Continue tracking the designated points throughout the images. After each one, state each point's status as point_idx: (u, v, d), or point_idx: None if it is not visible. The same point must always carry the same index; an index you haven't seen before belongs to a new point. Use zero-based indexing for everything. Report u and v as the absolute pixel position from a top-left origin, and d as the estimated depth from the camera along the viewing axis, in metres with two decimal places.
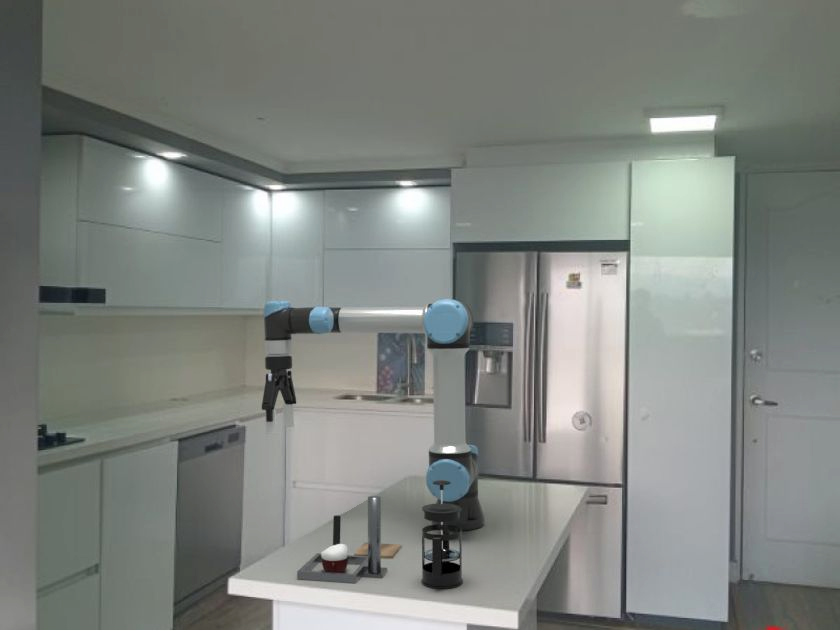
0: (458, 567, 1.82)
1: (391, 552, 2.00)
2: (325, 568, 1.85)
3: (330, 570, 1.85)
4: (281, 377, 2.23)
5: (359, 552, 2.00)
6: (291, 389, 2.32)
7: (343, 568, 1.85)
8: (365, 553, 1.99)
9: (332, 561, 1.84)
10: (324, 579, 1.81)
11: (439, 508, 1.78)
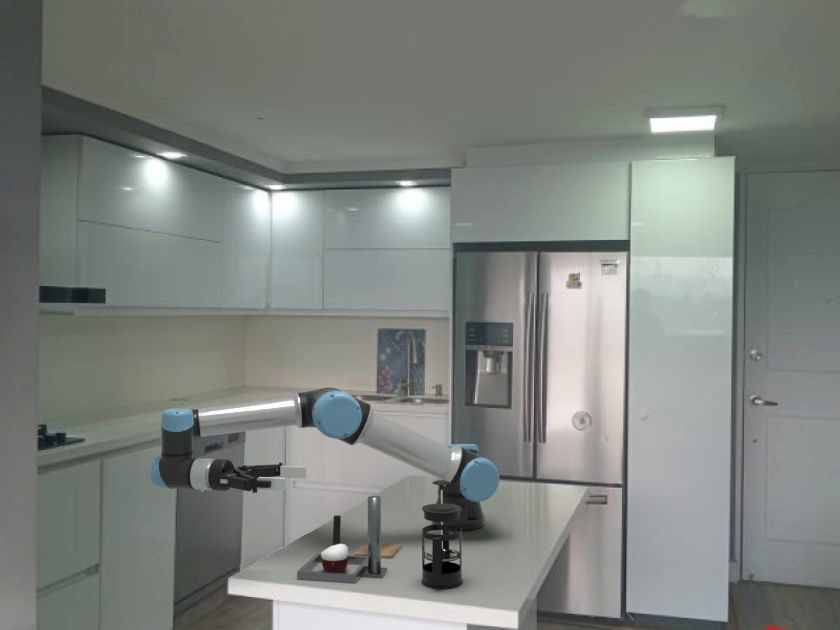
0: (458, 567, 1.82)
1: (391, 552, 2.00)
2: (325, 568, 1.85)
3: (330, 570, 1.85)
4: (233, 471, 1.91)
5: (359, 552, 2.00)
6: (265, 466, 1.99)
7: (343, 568, 1.85)
8: (365, 553, 1.99)
9: (332, 561, 1.84)
10: (324, 579, 1.81)
11: (439, 508, 1.78)
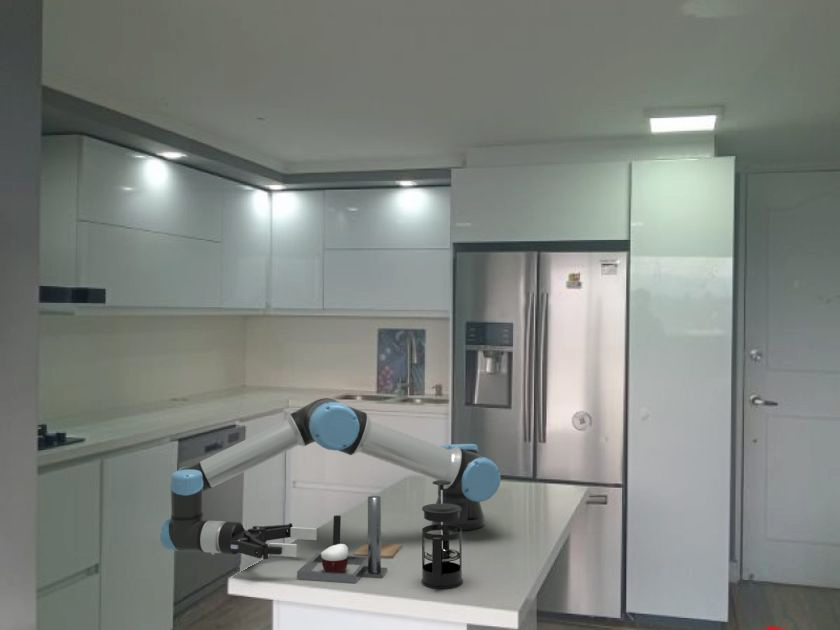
0: (458, 567, 1.82)
1: (391, 552, 2.00)
2: (325, 568, 1.85)
3: (330, 570, 1.85)
4: (244, 534, 1.90)
5: (359, 552, 2.00)
6: (275, 527, 1.98)
7: (343, 568, 1.85)
8: (365, 553, 1.99)
9: (332, 561, 1.84)
10: (324, 579, 1.81)
11: (439, 508, 1.78)
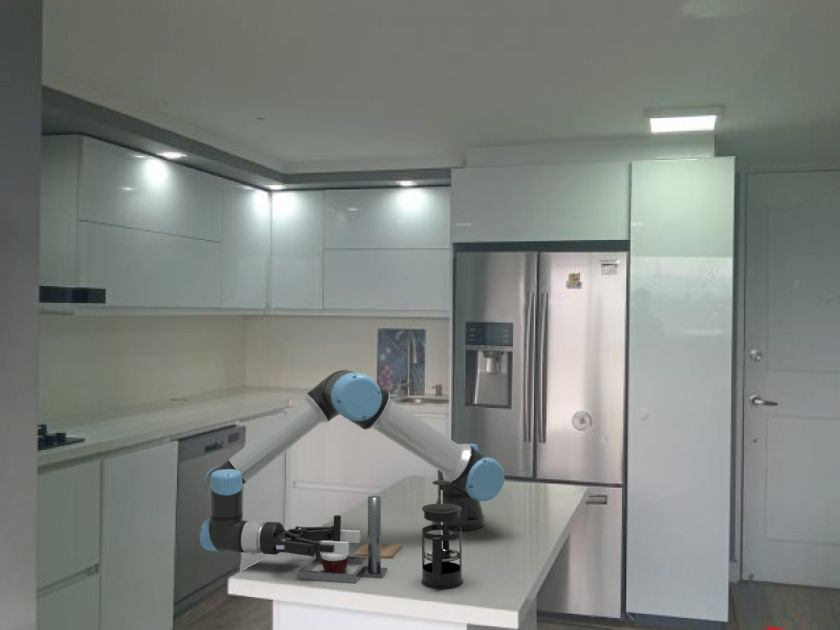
0: (458, 567, 1.82)
1: (391, 552, 2.00)
2: (325, 568, 1.85)
3: (330, 570, 1.84)
4: (286, 535, 1.88)
5: (359, 552, 2.00)
6: (317, 529, 1.95)
7: (343, 568, 1.85)
8: (365, 553, 1.99)
9: (332, 561, 1.84)
10: (324, 579, 1.81)
11: (439, 508, 1.78)
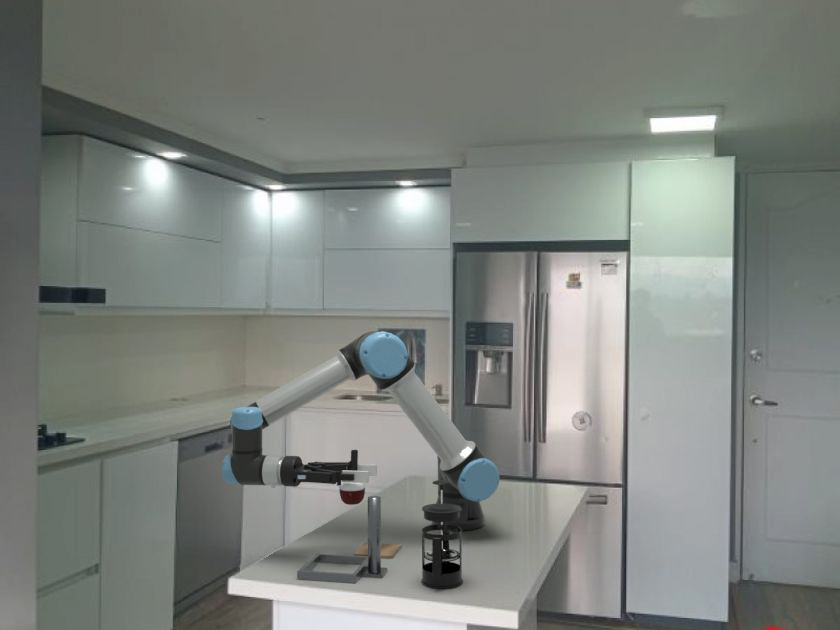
0: (458, 567, 1.82)
1: (391, 552, 2.00)
2: (343, 498, 1.92)
3: (347, 500, 1.91)
4: (305, 467, 1.96)
5: (359, 552, 2.00)
6: (334, 464, 2.02)
7: (360, 498, 1.92)
8: (365, 553, 1.99)
9: (349, 491, 1.91)
10: (324, 579, 1.81)
11: (439, 508, 1.78)
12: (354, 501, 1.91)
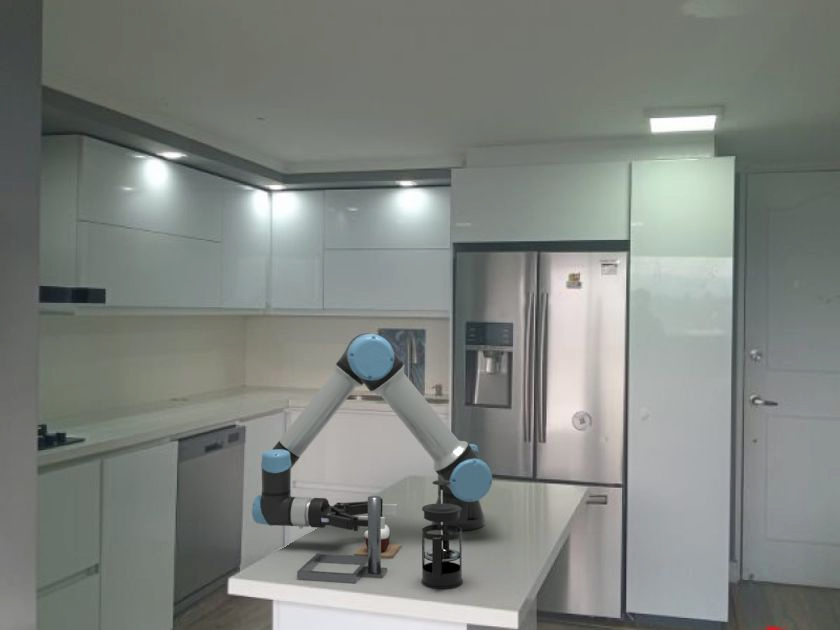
0: (458, 567, 1.82)
1: (391, 552, 2.00)
2: None
3: None
4: (331, 509, 2.03)
5: (359, 552, 2.00)
6: (357, 504, 2.12)
7: (385, 547, 2.00)
8: (365, 553, 1.99)
9: None
10: (324, 579, 1.81)
11: (439, 508, 1.78)
12: None
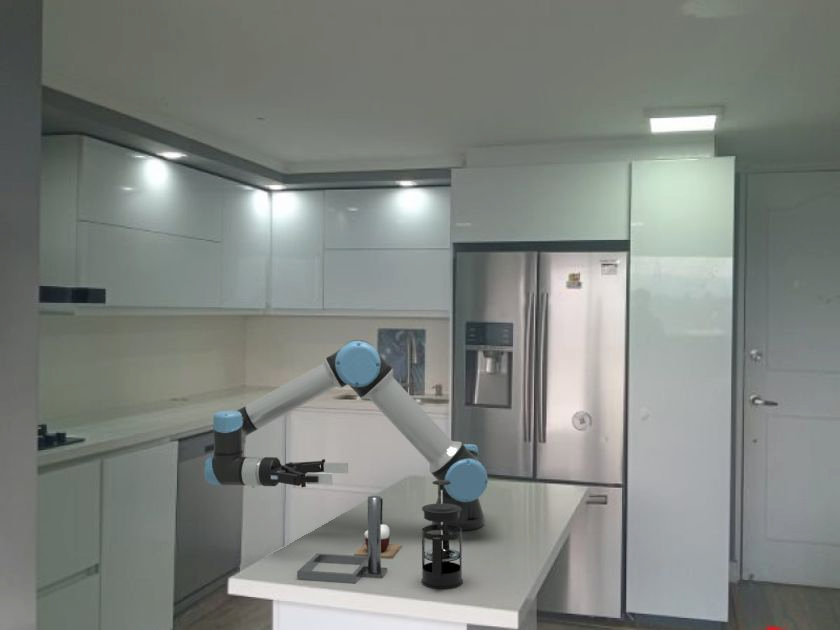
0: (458, 567, 1.82)
1: (391, 552, 2.00)
2: None
3: None
4: (282, 467, 2.06)
5: (359, 552, 2.00)
6: (309, 463, 2.14)
7: (385, 547, 2.00)
8: (365, 553, 1.99)
9: None
10: (324, 579, 1.81)
11: (439, 508, 1.78)
12: None
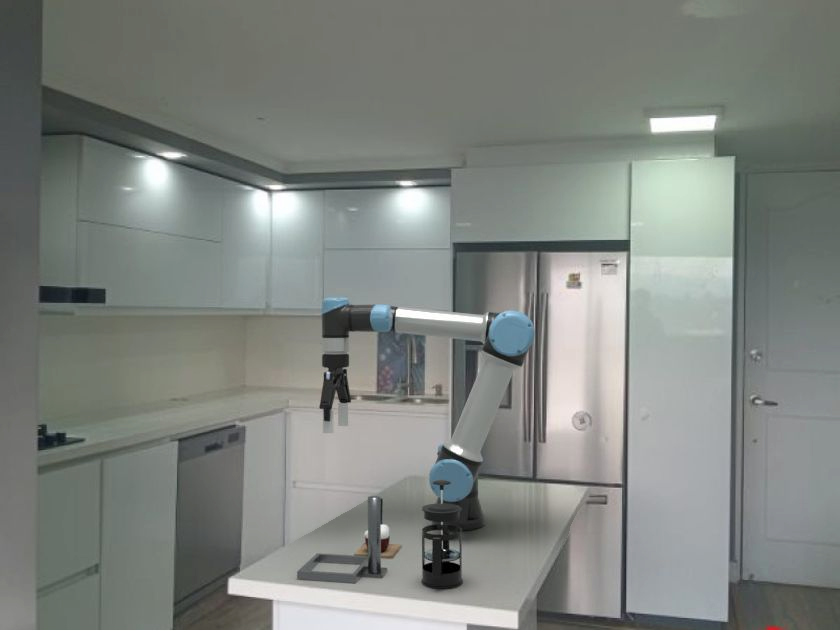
0: (458, 567, 1.82)
1: (391, 552, 2.00)
2: None
3: None
4: (338, 375, 2.19)
5: (359, 552, 2.00)
6: (346, 387, 2.28)
7: (385, 547, 2.00)
8: (365, 553, 1.99)
9: None
10: (324, 579, 1.81)
11: (439, 508, 1.78)
12: None
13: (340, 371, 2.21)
